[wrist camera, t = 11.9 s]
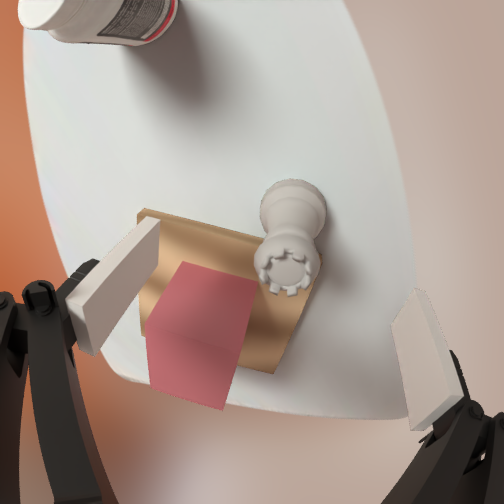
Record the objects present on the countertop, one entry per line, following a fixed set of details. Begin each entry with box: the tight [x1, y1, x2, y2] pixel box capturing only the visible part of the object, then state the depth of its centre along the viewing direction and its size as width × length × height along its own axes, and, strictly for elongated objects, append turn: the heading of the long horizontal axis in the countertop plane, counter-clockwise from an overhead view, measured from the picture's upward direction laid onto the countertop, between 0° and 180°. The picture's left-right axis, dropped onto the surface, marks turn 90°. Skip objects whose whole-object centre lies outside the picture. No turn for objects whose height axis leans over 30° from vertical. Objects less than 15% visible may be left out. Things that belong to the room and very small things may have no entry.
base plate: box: [137, 208, 322, 374], centre depth 26 cm, size 14×14×1 cm
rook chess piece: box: [254, 179, 326, 297], centre depth 17 cm, size 4×4×8 cm
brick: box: [145, 261, 258, 410], centre depth 22 cm, size 8×6×7 cm
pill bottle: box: [18, 0, 178, 46], centre depth 10 cm, size 5×5×10 cm
